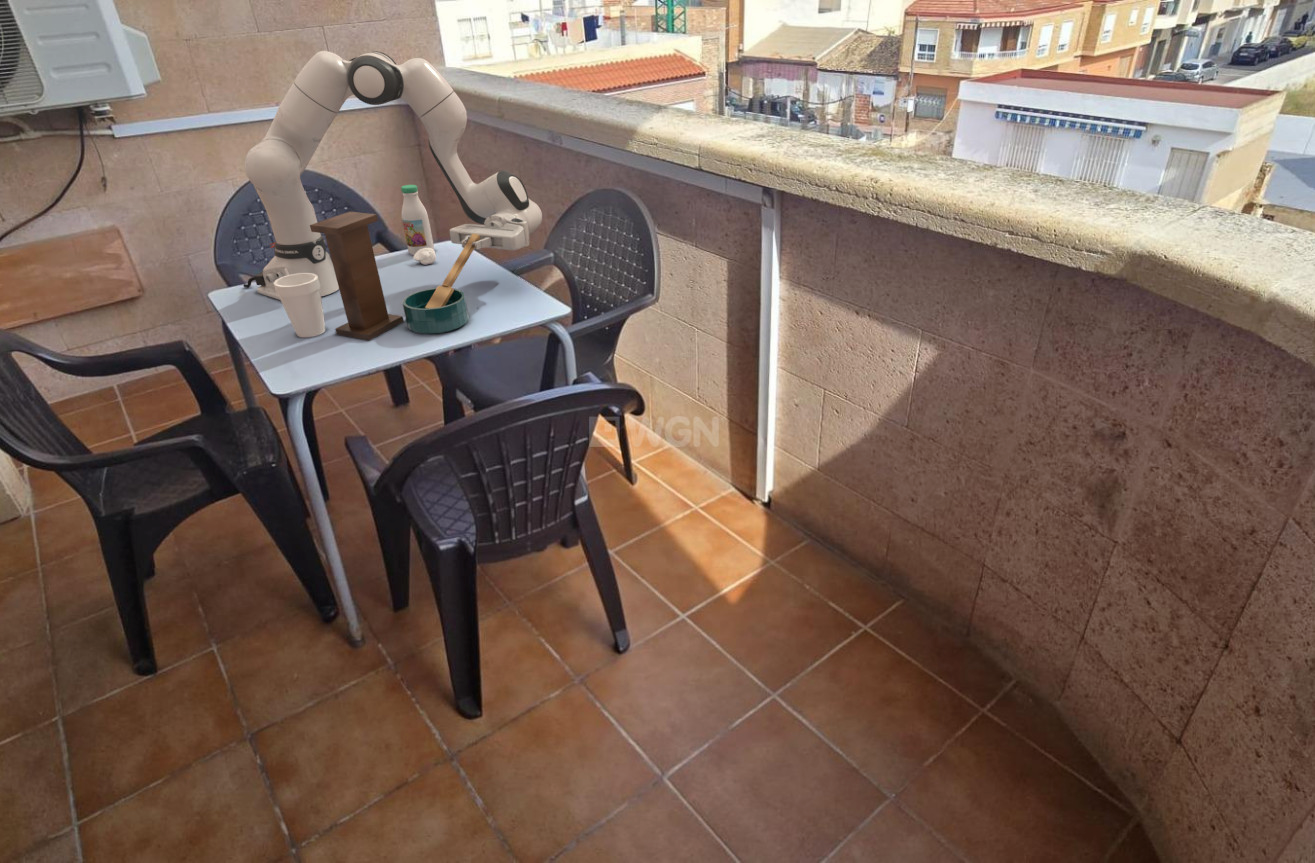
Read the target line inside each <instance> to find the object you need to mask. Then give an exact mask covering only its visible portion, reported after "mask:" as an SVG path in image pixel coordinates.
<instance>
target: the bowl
mask: <svg viewBox="0 0 1315 863" xmlns="http://www.w3.org/2000/svg"><path fill="white" fill-rule="evenodd" d="M452 288H453V287H452ZM436 289H437V287H433V288H426V289H422V290H418V291H415V292H412V293H410V294H408V295H407V296H406V297H404V298H403V299H402V302H401V303H402V307H403V312H404V317H405V320H406V325H407V328H408V329H409V330H410V331H411V332H415V333H419V334H422V335H423V334H425V335H438V334H444V333H448V332H453V331H455V330H457V329H459V328H461V327H463V326H464V325H466V323H468V321H469V318H470V317H469V310H468V305H467V299H466V294H465V292H464V291H462V290H461V289H458V288H453V289H454V291H453V293H452V295H451V296H450V298H449V300H448V301H447V303H446V305H445V306H443V307H438V308H427V309H426V308H425V307H426V305H427V304H428V302H429V300H430V299H431V297H432V295H433V294H434V292H435V290H436Z"/></svg>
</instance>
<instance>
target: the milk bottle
mask: <svg viewBox="0 0 1315 863" xmlns="http://www.w3.org/2000/svg"><path fill="white" fill-rule="evenodd" d="M400 190H401V193H402V194H401V195H403V203H402V207H401V220H402V226H403V231H404V236H405V240H406V245H407V250H408V253H409V255H412V256H414V255H415V253H416V252H417V251H418V250H420V249H423V248H432V249H433V250H434V251H435V245H434V239H433V234H432V230H431V224H430V219H429V215H428V212H427V209H426V207H425V206H424V204H423V203H422V201H421V199H420V197H419V191H418V190H419V189H418V185H416V184H405V185H402V186H401V187H400Z"/></svg>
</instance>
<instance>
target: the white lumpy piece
mask: <svg viewBox="0 0 1315 863" xmlns="http://www.w3.org/2000/svg"><path fill="white" fill-rule="evenodd" d="M412 258H413V260H414V261H416V262H420V264H422V265H424V266H425V265H431V264H434V263H435V261H436V259H437V256H436V250H435V249H434V250H433V249H432V248H423V249H420V250H418V251H417V252H416V253H415V255H413V256H412Z"/></svg>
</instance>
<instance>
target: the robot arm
mask: <svg viewBox="0 0 1315 863" xmlns="http://www.w3.org/2000/svg"><path fill="white" fill-rule="evenodd" d="M353 95H354V97H355V98H357V99H358V100H359V101H361V102H362V103H365V104H367V105H371V106H380V105H384V104H387V103H390V102H394V101H396V100H401V99H402V100H403V101H404V102H405V103H406V104H408V105H409V107H410V108H411V109H412V111H413V112H414V113H415V115H416V116H417V117H418V119H420V121H421V123H422V124H423V126H424V128H425V130H426V133H427V135H428V141H427V142H428V147H429V150H430V152H431V154H432V156H433V158H434V160H435V161H436V163H437V165H438V167H439V168H440V170H441V171H442V173H443V175H444V177H445V179H446V180H447V181H448V184H449V185H450V187H451V188H452V190H453V191H454V193H455V196H457V199H458V201H459V203H460V206H461V208H462V210H463V212H464V214H465V216H466V217H467V218H468V219H470V220H471V221H473V222H474V223H464V224H460V225H458V226H455V227H452V228H450V229H449V239H450V241H451V243H452V244H456V245H461V248H462V249H464V247H465V245H466V244H467V242H468V240H469V239H470V237H471V235H472V234H478V235H479V236H480V240H479V241H477V240H476V241H474V242H472V247H473V249H474V250H480V249H484V248H489V249H490V248H491V249H496V250H497V249H498V250H505V251H517V250H520V249H522V248H527V247H529V246H530V236H531V235H533V234H534V233H536V232H537V230H538V229H540V227H541V225H542V221H543V213H542V210H541V208H540V207H539V205H538V204H537V203H536V202H534V201H533V200H531V199H530V198H529V195H528V192H527V189H526V187H525V184H524V183H523V181H522V180H521V178H519V177H518V176H517V175H516V174H514V173H513V172H512V171H509V170H504V169H502V170H499V171H497V172H496V173H494V174H492V175H490V176H489V177H487V178H486V179H484V180H482V181H481V182H479V183H475V182H474V181H473V180H472V178H471V177H470V174H469V173H468V172H467V169H466V168H465V166H464V165H463V163H462V161H461V159H460V157H459V155H458V145H459V142H460V141H461V138H462V136H463V134H464V133H465V130H466V127H467V123H468V112H467V109H466V107H465V105H464V103H463V101H462V100H461V99H460V97H459V96H458V95H457V93H456V92H455V91H454V89H453V88H452V86H451V85H450V83H448V81H447V80H446V79H445V78H444V76H443V75H442V74H441V73H440V72H439V71H438V70H437V69H436V68H435V67H434V66H433V65H432V64H431V63H430V62H429V61H428V60H426V59H424V58H422V57H414V58H410V59H408V60H406V61H405V62H403V63H402V64H397V62H396V61H395V60H394V59H393V58H392V57H391V56H389V55H388V54H386V53H384V52H381V51H376V50H371V51H367V52H363V53H361V54H359V55H357V56H356V57H353V58H350V59H349V60H346V59H344V58H342V56H339V55H338V54H337V53H335V52H332V51H328V50H320V51H318V52H316V53H315V54H314V55H313V56H312V57H311V58H310V59H309V60H308V62H306V64H305V65H304V66H303V67H302V69H301V70H300V71H299V73H298V74H297V76H296V77H295V79H294V80H293V82H292V84H291V86H290V87H289V89H288V91H287V92H286V94H285V96H284V97H283V99H282V101H281V103H280V105H279V106H278V108H277V110H276V113H275V115H274V118H273V119H272V122H271V124H270V126H269V129H268V130H267V131H266V134H265V136H264V137H263V138H262V140H260V142H259V143H257V144H256V145H254V146H253V147H251V148H250V150H249V151H248V152H247V153H246V156H245V160H244V173H245V175H246V177H247V179H248V180H249V182H250V183H251V184H252V185H253V187H254V189H255V191H256V194H257V195H258V197H259V199H260V200H261V201H260V202H261V203H262V205H263V207H264V209H265V212H266V215H267V217H268V221H269V224H270V226H271V229H272V233H273V237H274V240H275V241H274V242H272V243H269V246H270V249H274V256H273V257H272V259H270V261H269V262H268V263H267V264H266V265H265V266H264V267H263V269H262V271H261V272H259V273H257V274H255V275H254V276H253V277H250V278H249V279H248V280H247V284H246V283H243V285H242V286H243V288H246V289H247V288H248V289H249V288H250V287H251V286H252V282H253V281H255V283H256V286H259V287H258V288H256V291H257V293H258V294H260V295H263V296H266V297H269V298H273V299H276V300H278V301H281V300H280V298H279V295H278V294H277V293H276V290H275V287H274V284H273V283H274V282H275V280H277V279H279V278H281V277H284V276H287V275H292V274H298V273H312V274H316V275H317V276H318V278H319V282H320V292H321V297H324V296H328V295H331V294H333V293H335V292H337V291H338V290H339V286H338V282H337V279H336V275H335V271H334V267H333V264H332V260H331V256H330V253H328V251H327V244H326V239H324V236H323V235H322V233H317V232H311V228H310V225H312V224H315V223H318V219H317V215H316V212H315V208H314V205H313V204H312V202H311V201H310V199H309V197H308V195H307V192H306V191H305V188H304V186H303V183H302V180H301V175H302V174H303V173H305V172H304V171H305V170H306V169H307V166H308V165H309V163H310V161H311V160H312V158H313V156H314V154H315V152H316V151H317V149H318V147H319V145H320V144H321V141H322V140H323V138H324V136H325V134H326V133H327V132H328V130H329V128H330V126H331V125H332V123H333V122H334V120H335V118H336V117H337V115H338V113H339V112H340V110H341V109H342V108H343V105H344V104H345V102H346V101H347V99H348V98H350V97H351V96H353Z"/></svg>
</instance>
